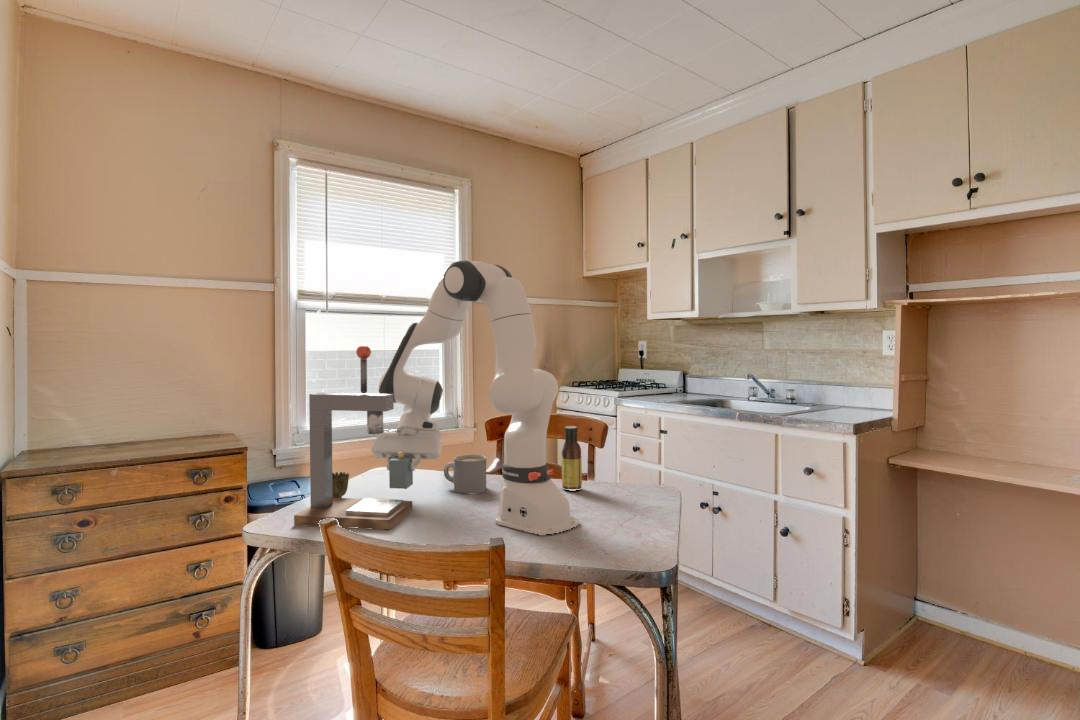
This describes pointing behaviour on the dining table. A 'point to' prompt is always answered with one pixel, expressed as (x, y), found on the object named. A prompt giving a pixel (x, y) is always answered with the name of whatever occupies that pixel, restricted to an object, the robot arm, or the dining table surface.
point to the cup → (339, 484)
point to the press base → (361, 521)
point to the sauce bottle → (571, 460)
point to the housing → (400, 472)
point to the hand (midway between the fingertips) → (400, 469)
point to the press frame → (322, 440)
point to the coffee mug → (467, 473)
